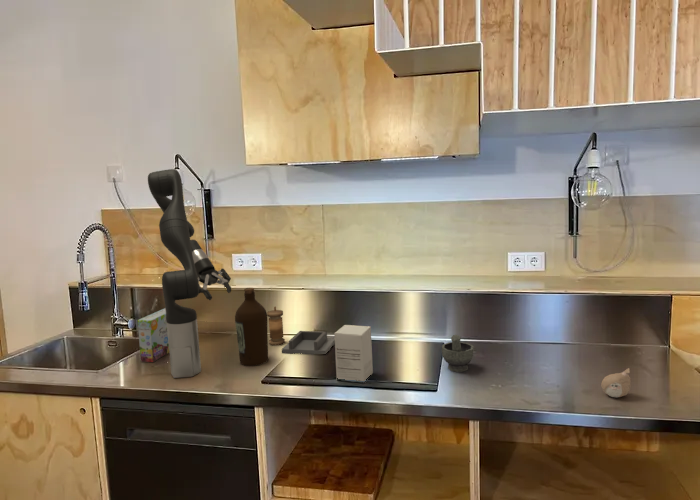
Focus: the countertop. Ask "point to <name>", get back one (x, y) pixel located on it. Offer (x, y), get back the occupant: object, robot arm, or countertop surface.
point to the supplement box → (353, 352)
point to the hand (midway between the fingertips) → (220, 295)
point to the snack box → (153, 336)
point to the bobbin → (276, 327)
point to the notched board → (309, 343)
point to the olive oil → (251, 330)
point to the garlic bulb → (617, 384)
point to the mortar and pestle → (457, 354)
